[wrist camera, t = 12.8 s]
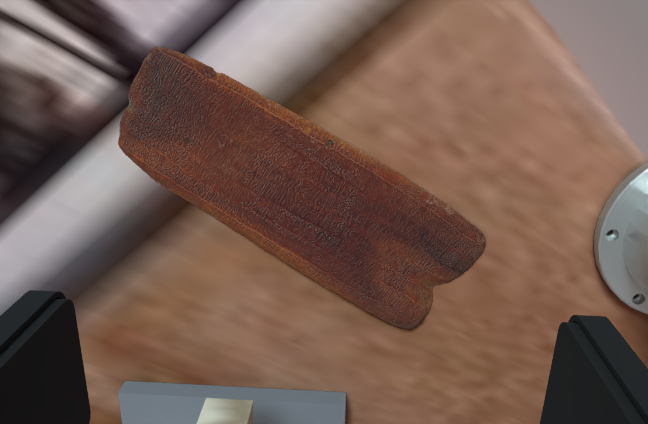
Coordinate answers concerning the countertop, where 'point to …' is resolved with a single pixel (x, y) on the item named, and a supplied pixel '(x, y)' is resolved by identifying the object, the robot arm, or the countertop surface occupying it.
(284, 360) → the countertop surface
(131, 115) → the wooden tablet
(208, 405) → the birch beam
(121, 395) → the stand
